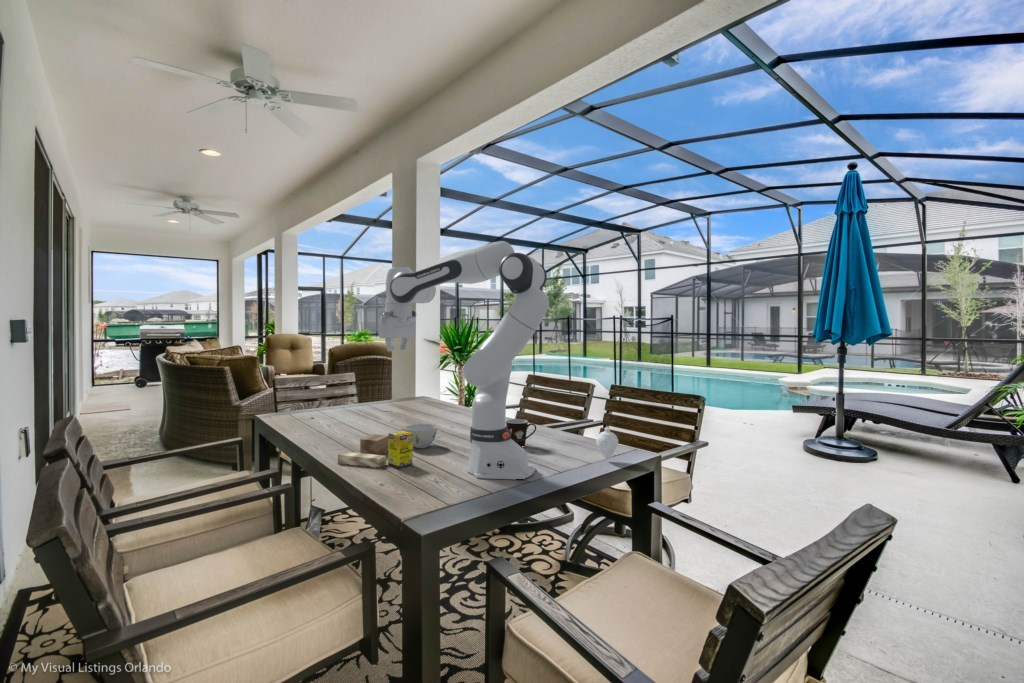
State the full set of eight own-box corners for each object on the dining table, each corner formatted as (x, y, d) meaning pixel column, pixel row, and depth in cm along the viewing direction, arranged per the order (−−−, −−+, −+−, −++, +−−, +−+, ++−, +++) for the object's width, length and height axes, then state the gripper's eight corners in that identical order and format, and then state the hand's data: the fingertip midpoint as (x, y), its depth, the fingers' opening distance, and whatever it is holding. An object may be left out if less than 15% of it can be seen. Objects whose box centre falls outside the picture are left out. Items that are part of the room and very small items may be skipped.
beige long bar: (385, 464, 159) (385, 455, 158) (379, 467, 155) (379, 458, 155) (344, 460, 163) (344, 451, 163) (337, 463, 159) (337, 454, 159)
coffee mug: (503, 448, 180) (504, 422, 179) (507, 443, 188) (508, 418, 188) (533, 450, 178) (534, 424, 178) (536, 444, 186) (536, 419, 186)
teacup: (442, 443, 187) (442, 423, 186) (431, 452, 174) (431, 430, 174) (406, 441, 189) (406, 421, 189) (393, 449, 177) (393, 428, 177)
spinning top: (607, 466, 159) (608, 431, 159) (591, 460, 165) (591, 427, 165) (622, 462, 164) (623, 428, 163) (606, 457, 170) (606, 424, 169)
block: (389, 451, 175) (389, 435, 175) (377, 457, 167) (377, 440, 167) (372, 449, 177) (372, 434, 177) (360, 455, 169) (360, 439, 169)
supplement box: (399, 468, 154) (399, 436, 154) (387, 465, 158) (387, 433, 157) (413, 464, 159) (413, 432, 158) (401, 461, 162) (401, 430, 162)
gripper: (391, 311, 156) (390, 352, 157) (418, 312, 176) (417, 349, 177) (374, 311, 158) (373, 351, 159) (403, 312, 178) (402, 348, 178)
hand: (396, 350), depth 168 cm, fingers open, 8 cm apart
